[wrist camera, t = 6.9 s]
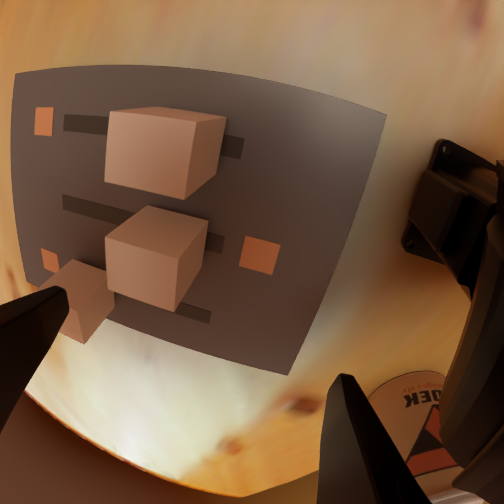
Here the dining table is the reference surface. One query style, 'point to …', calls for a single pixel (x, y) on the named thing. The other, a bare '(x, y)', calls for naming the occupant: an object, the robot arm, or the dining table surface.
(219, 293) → the switch unit
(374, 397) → the coffee cup
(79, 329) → the slider
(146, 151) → the slider
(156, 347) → the dining table surface
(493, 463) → the robot arm
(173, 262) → the slider
